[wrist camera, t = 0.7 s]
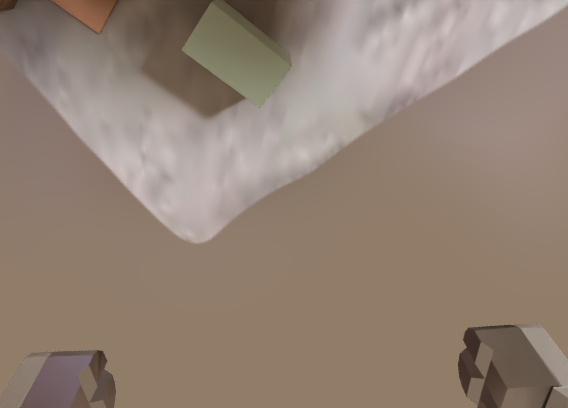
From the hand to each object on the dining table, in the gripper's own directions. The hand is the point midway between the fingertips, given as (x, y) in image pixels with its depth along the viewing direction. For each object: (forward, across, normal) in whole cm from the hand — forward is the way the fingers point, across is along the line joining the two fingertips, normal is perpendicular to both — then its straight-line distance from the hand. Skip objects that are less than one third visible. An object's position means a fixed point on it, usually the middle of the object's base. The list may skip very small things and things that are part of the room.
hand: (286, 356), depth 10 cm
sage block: (+36, +3, -1) cm, 36 cm away
